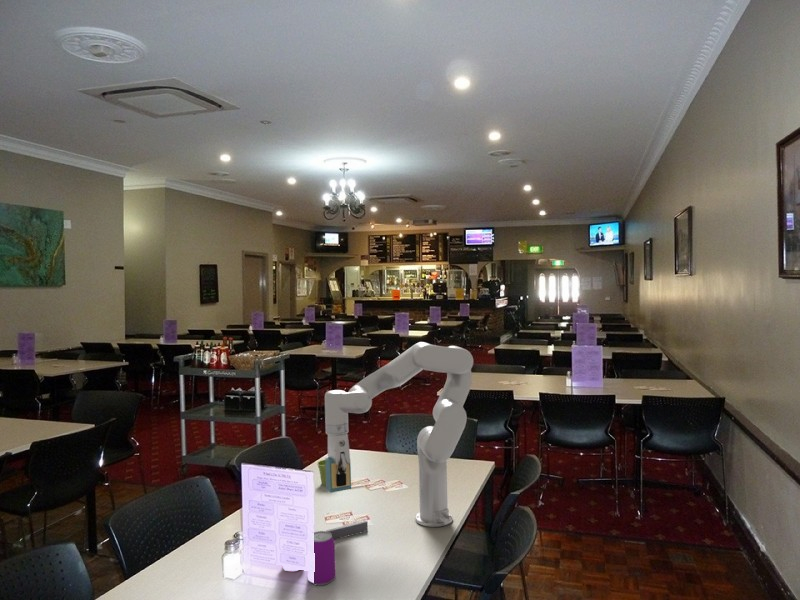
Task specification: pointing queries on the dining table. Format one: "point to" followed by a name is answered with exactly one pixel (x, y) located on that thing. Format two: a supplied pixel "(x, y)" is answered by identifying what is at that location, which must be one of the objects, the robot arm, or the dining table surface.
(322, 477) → the plant pot
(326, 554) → the beverage can
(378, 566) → the dining table surface
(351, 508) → the dining table surface
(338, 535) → the rail
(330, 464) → the tea box
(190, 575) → the dining table surface
